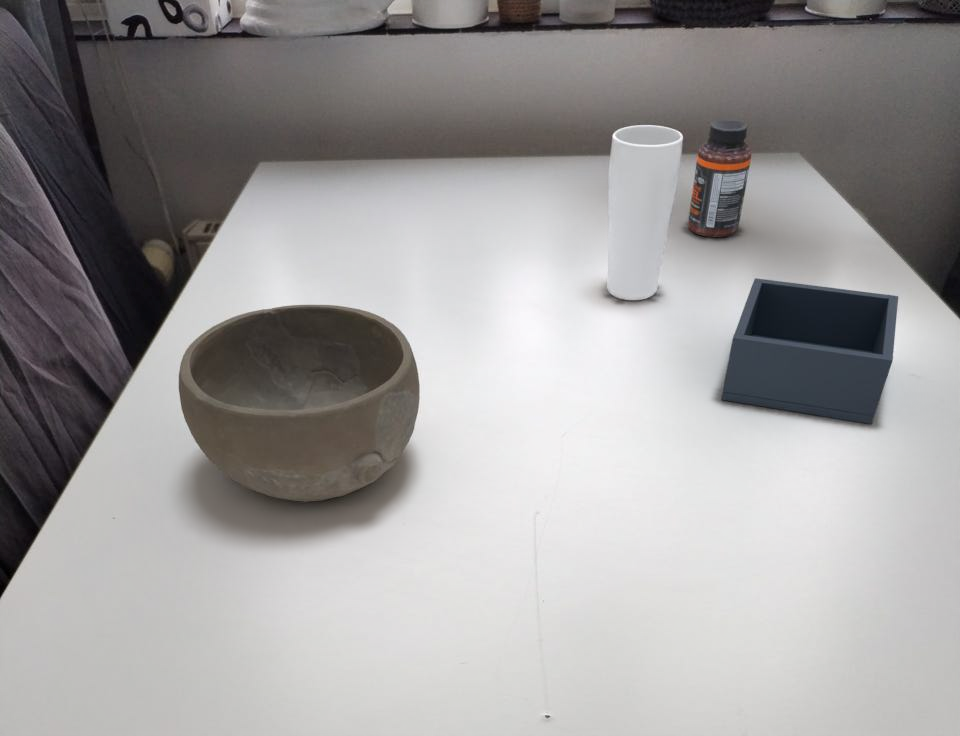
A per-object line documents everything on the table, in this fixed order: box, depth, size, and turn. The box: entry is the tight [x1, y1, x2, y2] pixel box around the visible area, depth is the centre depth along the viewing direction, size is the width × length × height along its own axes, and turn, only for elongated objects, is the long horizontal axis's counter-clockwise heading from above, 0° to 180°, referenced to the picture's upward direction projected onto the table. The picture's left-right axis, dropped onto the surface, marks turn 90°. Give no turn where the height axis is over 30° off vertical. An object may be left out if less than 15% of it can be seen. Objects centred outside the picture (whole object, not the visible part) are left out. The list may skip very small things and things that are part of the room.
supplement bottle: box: [687, 118, 752, 238], centre depth 102 cm, size 6×6×11 cm
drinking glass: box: [606, 124, 684, 301], centre depth 89 cm, size 7×7×15 cm
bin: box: [720, 277, 899, 425], centre depth 79 cm, size 13×13×6 cm
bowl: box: [178, 304, 421, 503], centre depth 69 cm, size 17×18×10 cm
